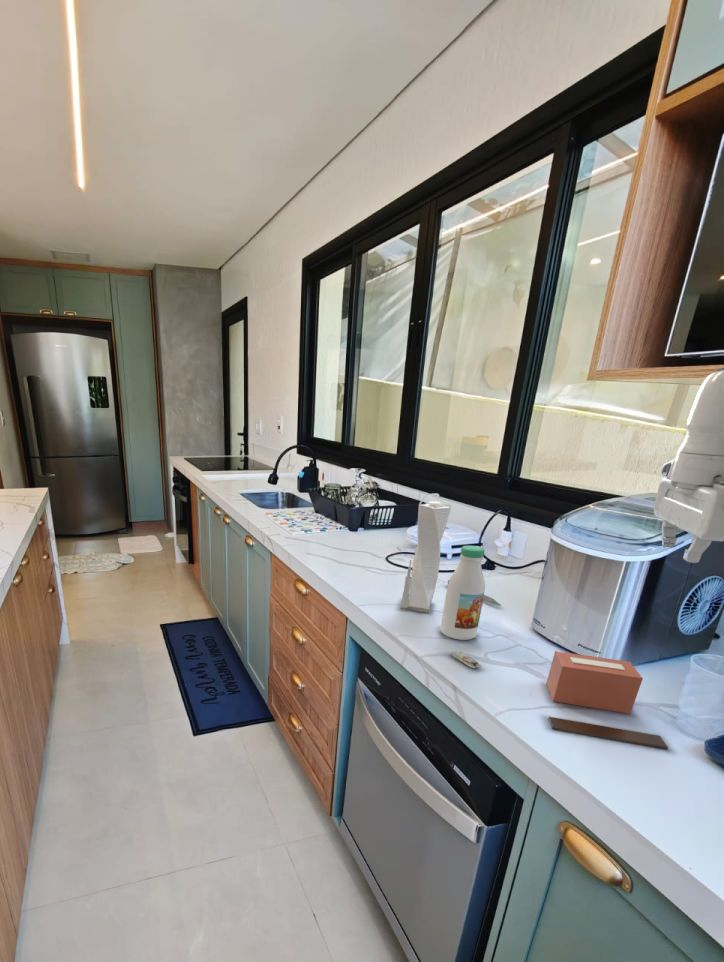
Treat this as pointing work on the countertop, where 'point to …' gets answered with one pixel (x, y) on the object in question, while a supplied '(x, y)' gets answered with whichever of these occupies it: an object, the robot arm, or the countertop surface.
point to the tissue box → (593, 682)
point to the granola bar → (465, 659)
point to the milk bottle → (464, 596)
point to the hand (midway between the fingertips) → (677, 553)
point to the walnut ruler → (607, 732)
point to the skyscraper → (425, 556)
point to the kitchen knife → (489, 600)
